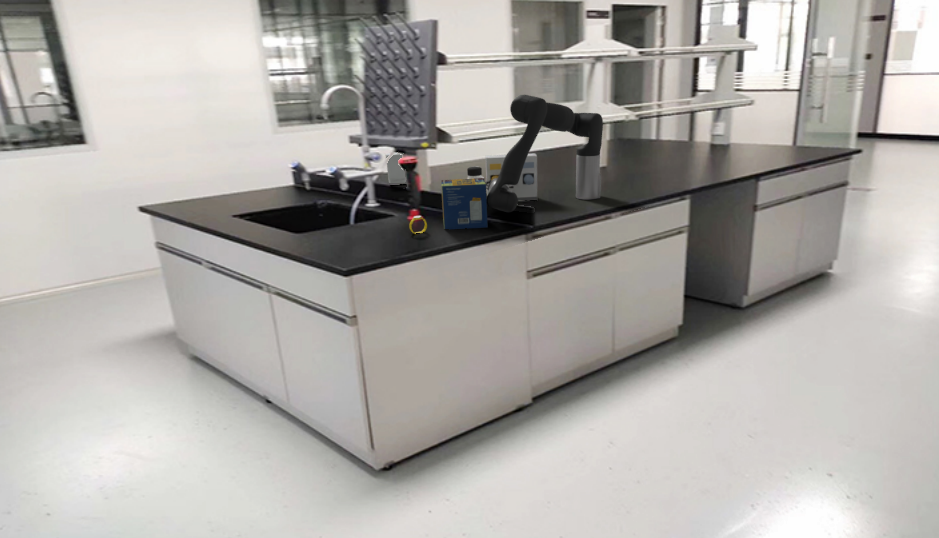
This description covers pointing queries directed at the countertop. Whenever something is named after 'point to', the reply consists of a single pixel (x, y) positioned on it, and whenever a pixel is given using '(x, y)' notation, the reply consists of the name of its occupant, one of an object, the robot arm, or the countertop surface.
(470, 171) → the medicine bottle
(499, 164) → the panel
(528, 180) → the blue button
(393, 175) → the grey shouldered block
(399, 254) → the countertop surface
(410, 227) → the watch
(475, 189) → the protein box
